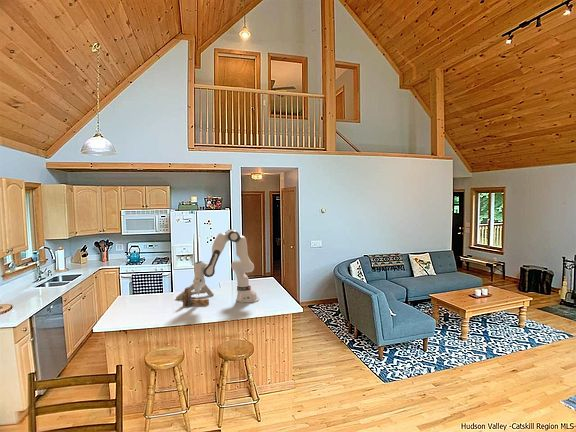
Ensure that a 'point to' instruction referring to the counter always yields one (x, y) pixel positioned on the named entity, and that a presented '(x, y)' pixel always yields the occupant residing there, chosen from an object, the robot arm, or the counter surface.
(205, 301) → the rail
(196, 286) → the robot arm
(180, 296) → the wall bracket
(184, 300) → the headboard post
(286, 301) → the counter surface
